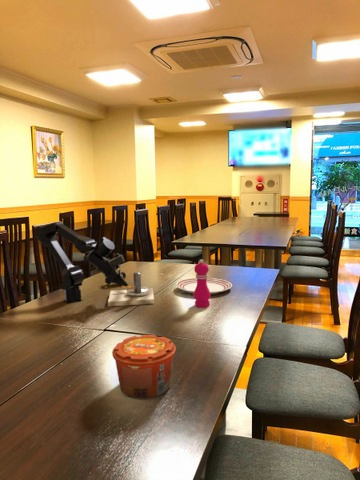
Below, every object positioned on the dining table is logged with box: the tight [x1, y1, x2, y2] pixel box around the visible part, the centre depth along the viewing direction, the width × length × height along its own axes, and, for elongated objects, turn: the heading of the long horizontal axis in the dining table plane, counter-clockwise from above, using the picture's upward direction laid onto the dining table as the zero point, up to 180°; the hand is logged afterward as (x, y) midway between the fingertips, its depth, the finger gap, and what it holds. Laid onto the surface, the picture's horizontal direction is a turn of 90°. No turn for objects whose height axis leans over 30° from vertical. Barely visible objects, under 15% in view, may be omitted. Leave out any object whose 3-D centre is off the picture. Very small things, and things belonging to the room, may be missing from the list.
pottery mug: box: [109, 271, 127, 287], centre depth 197 cm, size 12×10×8 cm
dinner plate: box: [175, 277, 233, 295], centre depth 182 cm, size 27×27×3 cm
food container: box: [111, 334, 177, 400], centre depth 94 cm, size 16×16×11 cm
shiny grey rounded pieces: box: [121, 271, 150, 297], centre depth 169 cm, size 13×13×11 cm
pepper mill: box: [193, 259, 212, 309], centre depth 156 cm, size 7×7×20 cm
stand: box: [107, 288, 155, 307], centre depth 170 cm, size 20×18×2 cm
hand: (127, 285), depth 164 cm, fingers closed
